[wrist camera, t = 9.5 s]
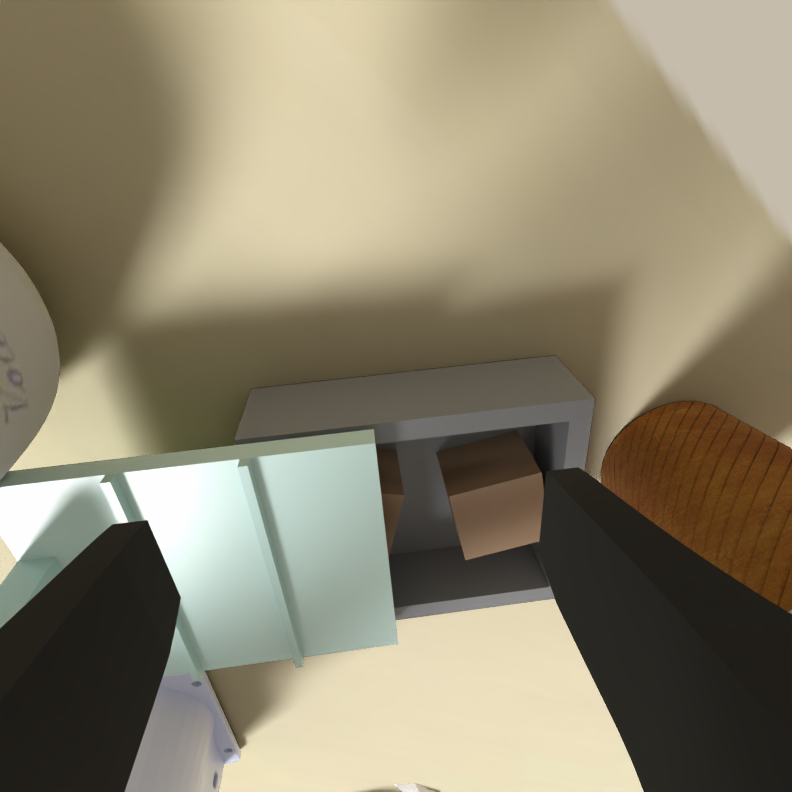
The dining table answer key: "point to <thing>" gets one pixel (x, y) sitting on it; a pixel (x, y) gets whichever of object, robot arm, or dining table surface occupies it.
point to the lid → (226, 543)
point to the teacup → (23, 361)
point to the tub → (420, 472)
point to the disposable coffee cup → (711, 490)
